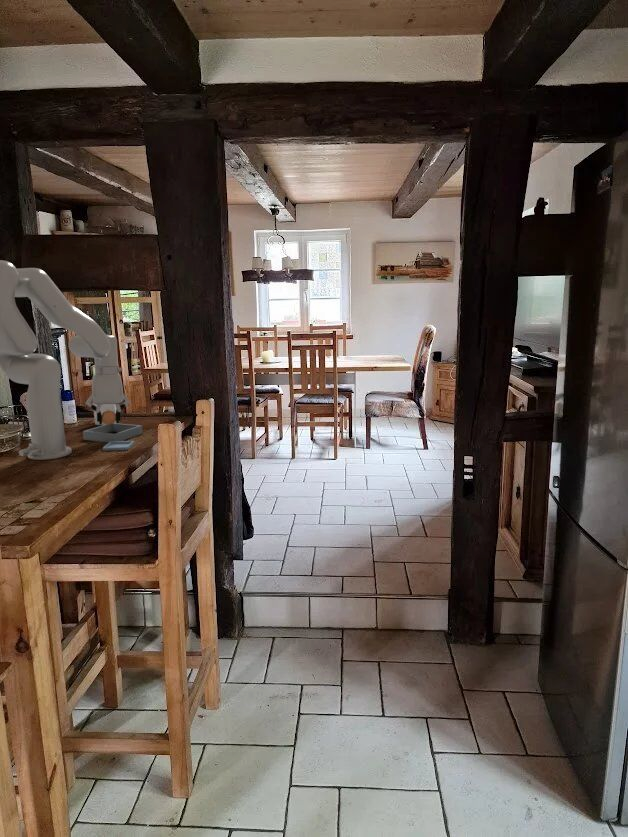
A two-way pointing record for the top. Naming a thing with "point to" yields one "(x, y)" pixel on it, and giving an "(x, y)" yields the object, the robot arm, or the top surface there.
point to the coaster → (118, 445)
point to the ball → (108, 417)
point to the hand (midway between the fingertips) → (109, 422)
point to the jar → (104, 408)
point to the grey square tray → (104, 436)
